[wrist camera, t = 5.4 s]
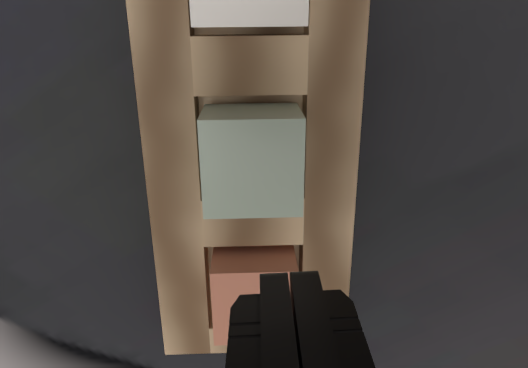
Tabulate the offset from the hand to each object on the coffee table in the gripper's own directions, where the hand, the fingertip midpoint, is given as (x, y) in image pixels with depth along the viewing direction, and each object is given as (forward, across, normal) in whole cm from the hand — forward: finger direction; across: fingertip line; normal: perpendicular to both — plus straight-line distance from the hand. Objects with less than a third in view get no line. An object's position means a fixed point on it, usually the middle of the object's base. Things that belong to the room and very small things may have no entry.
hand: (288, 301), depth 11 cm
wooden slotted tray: (+16, +1, 0) cm, 16 cm away
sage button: (+14, +1, 0) cm, 14 cm away
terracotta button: (+16, +1, +9) cm, 18 cm away
